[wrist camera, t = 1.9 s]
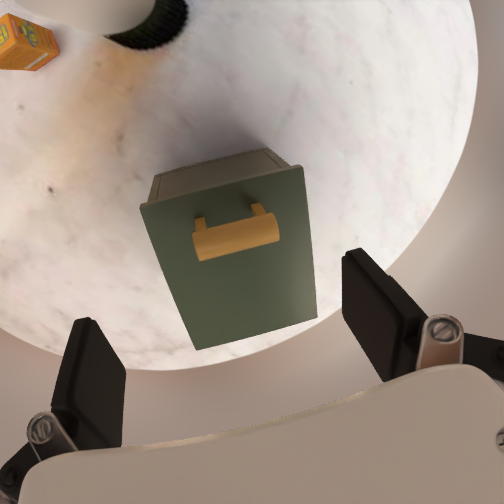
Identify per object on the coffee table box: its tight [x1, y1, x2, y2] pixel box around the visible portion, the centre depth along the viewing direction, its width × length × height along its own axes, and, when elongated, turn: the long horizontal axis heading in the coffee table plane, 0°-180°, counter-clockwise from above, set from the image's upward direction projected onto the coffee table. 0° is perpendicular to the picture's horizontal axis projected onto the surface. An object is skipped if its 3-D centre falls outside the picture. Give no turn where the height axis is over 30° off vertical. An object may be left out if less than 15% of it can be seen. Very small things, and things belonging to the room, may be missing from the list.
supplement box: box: [0, 13, 60, 71], centre depth 17 cm, size 3×3×10 cm
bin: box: [147, 148, 290, 202], centre depth 30 cm, size 14×12×10 cm
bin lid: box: [140, 165, 317, 350], centre depth 24 cm, size 14×12×5 cm
